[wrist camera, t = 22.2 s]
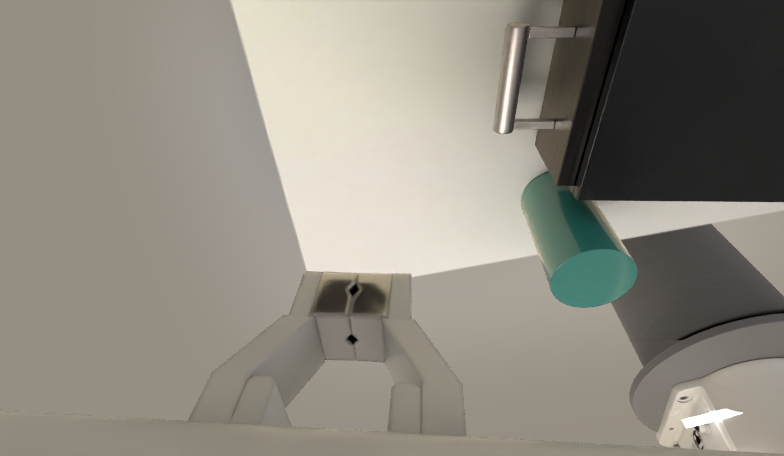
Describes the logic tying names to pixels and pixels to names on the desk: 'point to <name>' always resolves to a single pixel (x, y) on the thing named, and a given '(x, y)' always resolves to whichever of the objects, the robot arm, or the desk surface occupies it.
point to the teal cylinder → (576, 245)
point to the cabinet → (691, 105)
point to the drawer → (562, 81)
